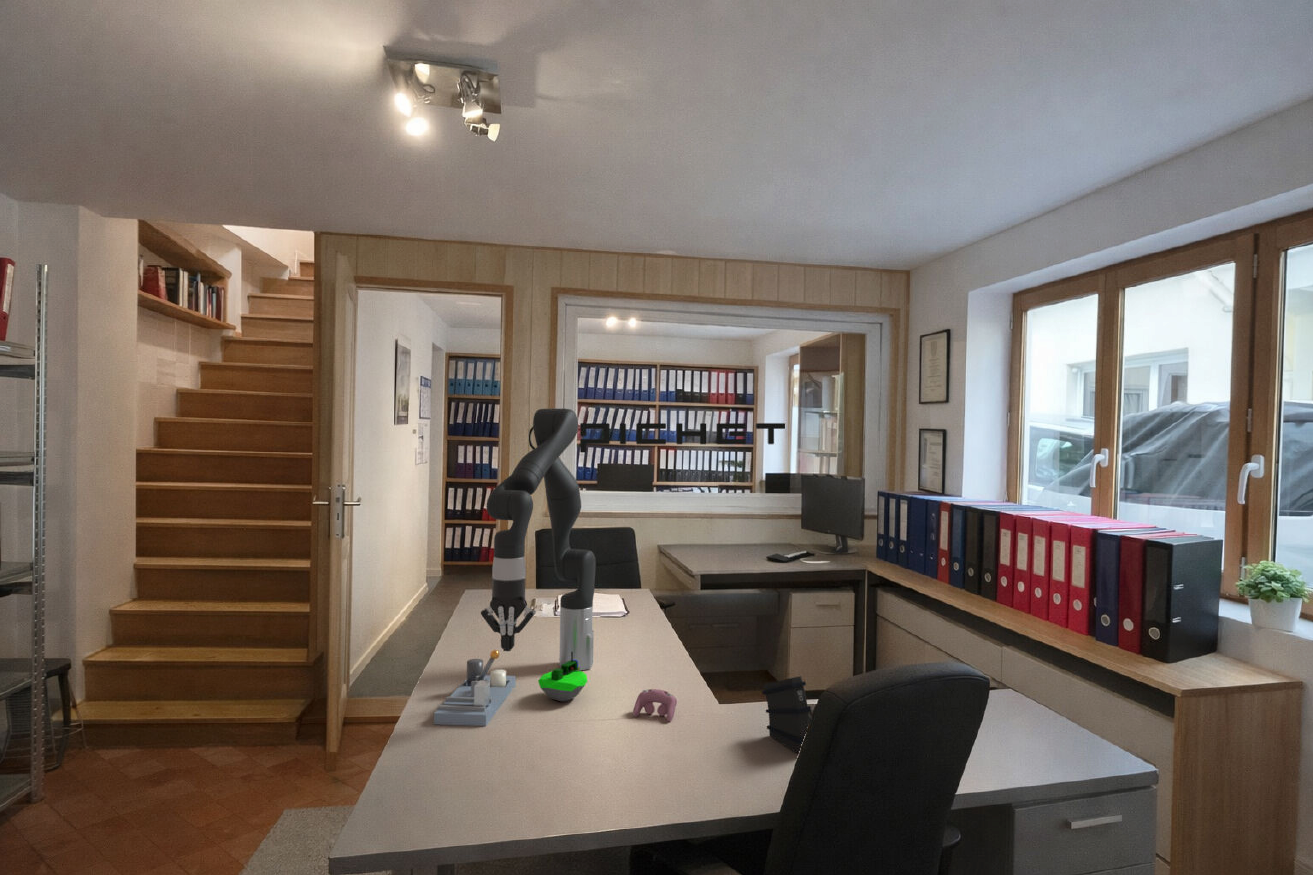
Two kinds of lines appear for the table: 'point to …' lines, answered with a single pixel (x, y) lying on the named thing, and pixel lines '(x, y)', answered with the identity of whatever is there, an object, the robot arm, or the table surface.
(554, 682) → the green floating island model
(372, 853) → the table surface
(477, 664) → the button
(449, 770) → the table surface
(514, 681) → the panel
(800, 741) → the magazine
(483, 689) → the slider knob
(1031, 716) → the table surface
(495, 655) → the toggle lever
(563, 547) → the robot arm
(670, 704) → the video game controller
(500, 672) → the button
